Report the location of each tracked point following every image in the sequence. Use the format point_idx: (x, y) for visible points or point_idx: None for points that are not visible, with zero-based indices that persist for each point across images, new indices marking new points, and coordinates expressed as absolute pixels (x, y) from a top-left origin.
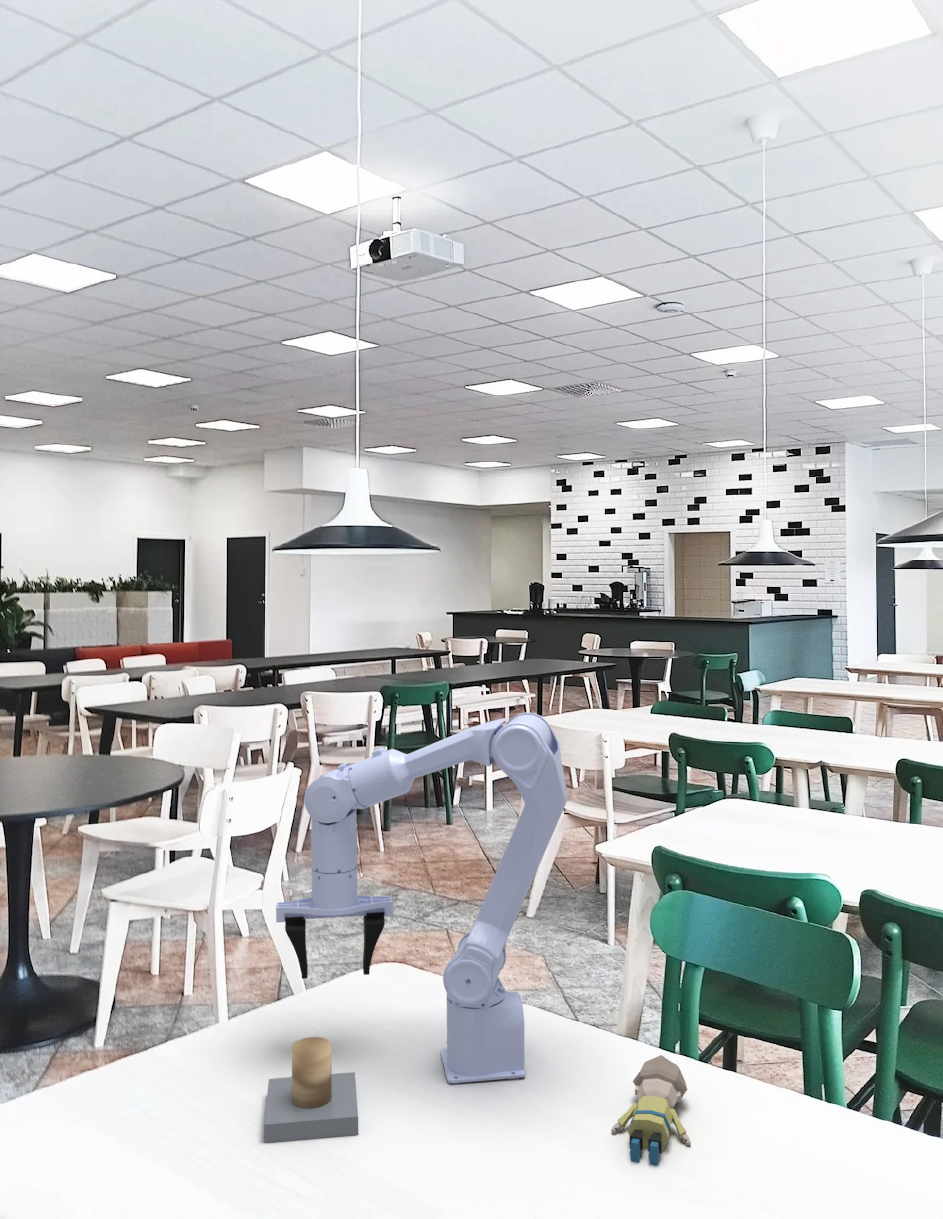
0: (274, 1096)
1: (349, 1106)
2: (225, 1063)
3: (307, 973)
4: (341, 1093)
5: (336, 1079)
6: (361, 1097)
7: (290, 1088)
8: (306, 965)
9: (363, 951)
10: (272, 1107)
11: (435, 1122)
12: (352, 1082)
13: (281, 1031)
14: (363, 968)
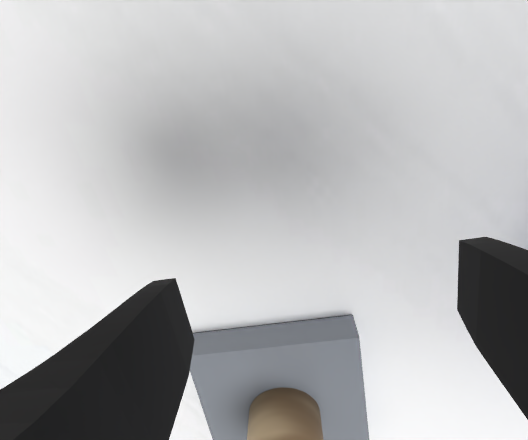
0: (215, 407)
1: (354, 434)
2: (54, 217)
3: (186, 338)
4: (337, 402)
5: (322, 361)
6: (366, 340)
7: (237, 385)
8: (178, 406)
9: (516, 267)
10: (221, 432)
11: (493, 406)
12: (356, 370)
13: (120, 39)
14: (468, 304)
